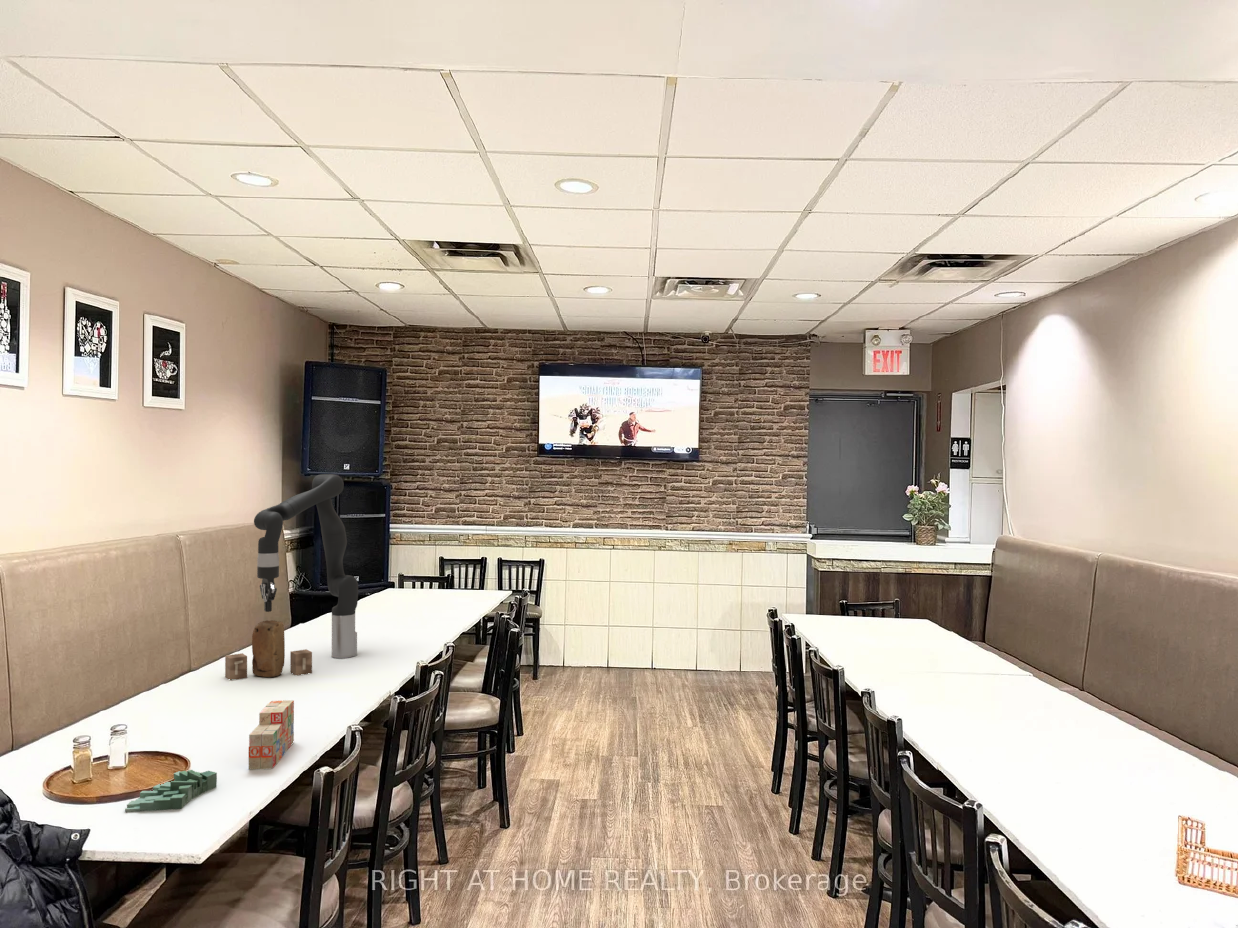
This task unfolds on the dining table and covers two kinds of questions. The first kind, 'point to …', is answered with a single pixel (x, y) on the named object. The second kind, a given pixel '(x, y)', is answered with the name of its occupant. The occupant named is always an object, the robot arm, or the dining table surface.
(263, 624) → the block
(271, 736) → the stack of blocks
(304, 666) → the walnut block one
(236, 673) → the brown letter block
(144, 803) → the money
